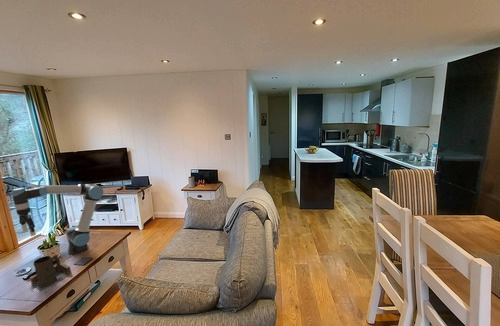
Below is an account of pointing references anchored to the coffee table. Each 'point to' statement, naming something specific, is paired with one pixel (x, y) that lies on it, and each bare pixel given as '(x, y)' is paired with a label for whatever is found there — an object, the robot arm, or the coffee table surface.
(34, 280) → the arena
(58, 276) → the pad
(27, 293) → the coffee table surface
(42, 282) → the beer stein
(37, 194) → the robot arm
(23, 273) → the coffee table surface
